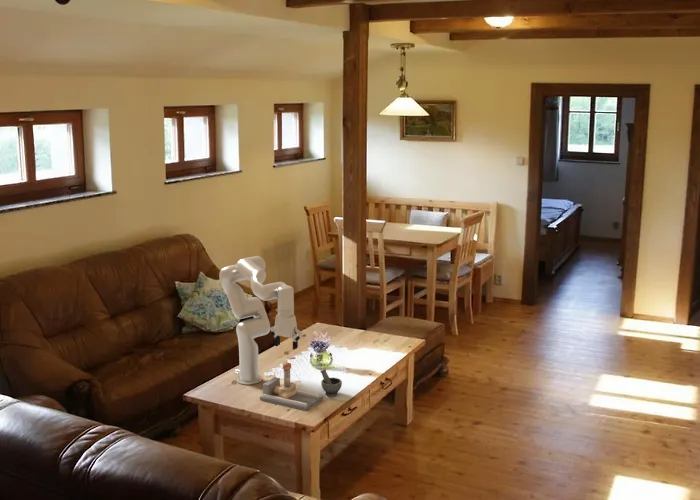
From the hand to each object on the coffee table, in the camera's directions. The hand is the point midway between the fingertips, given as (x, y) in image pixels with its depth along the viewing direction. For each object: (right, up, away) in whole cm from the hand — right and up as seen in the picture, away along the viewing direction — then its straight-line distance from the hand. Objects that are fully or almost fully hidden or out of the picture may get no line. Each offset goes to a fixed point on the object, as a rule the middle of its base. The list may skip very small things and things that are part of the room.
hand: (286, 347), depth 370 cm
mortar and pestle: (+20, -24, +12) cm, 34 cm away
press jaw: (0, -24, +5) cm, 24 cm away
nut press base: (+2, -26, +5) cm, 26 cm away
